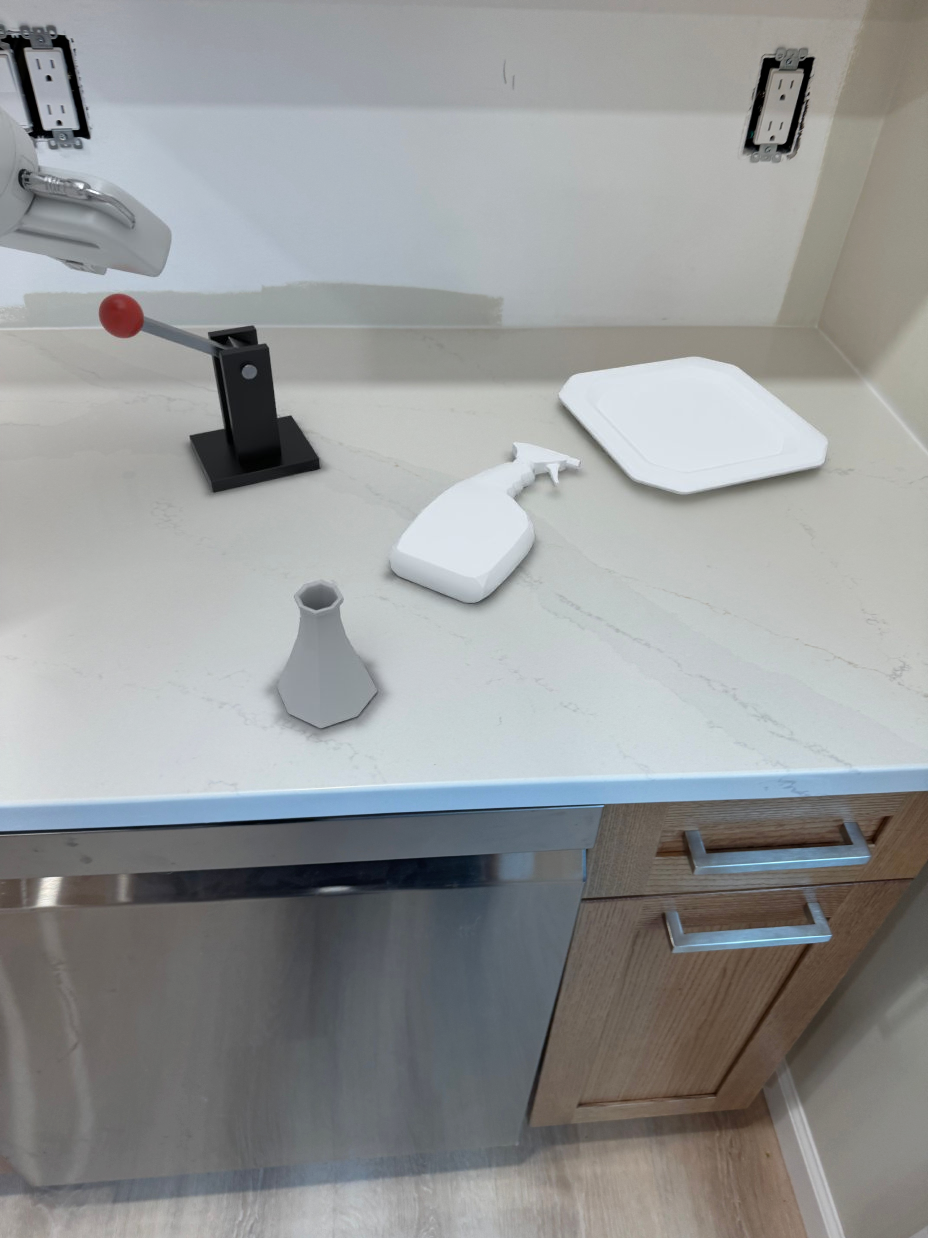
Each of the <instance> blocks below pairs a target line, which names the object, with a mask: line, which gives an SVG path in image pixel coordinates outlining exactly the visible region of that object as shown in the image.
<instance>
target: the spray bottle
mask: <svg viewBox="0 0 928 1238" xmlns="http://www.w3.org/2000/svg"><path fill="white" fill-rule="evenodd" d="M511 454H512V455H513V456H514V457H515V459H514V460H513V461H506V462H504V463H501V464H499V465H496V466H493V467H490V468H488V469H485V470H483V471H481V472H478V473H477V474H474V475H473V476H471V477H469V478H466V479H464V480H460V481H458V482H456V483H454V484H453V485H452V486H450V487H448V489H446V490H444V491H443V492H441V493H440V494H439V495H438V496H436V497H435V498H434V499H433V500H432V501H431V502H430V503H428V504H427V505H426V506H425V507H424V508H423V509H422V510H420V511H419V512H418V514H417V515H416V516H415V518H414V519H412V521H411V522H410V524H409V525H408V526H407V528H406V529H405V530H404V531H403V533H402V534H401V535H400V536H399V538H398V539H397V540H396V541H395V543H394V544H393V545H392V546H391V548H390V551H389V556H388V560H389V565H390V567H391V571H392V572H394V574H396V576H398V577H399V578H402V579H403V580H404V579H405V580H406V581H409V582H412V583H415V584H417V585H420V586H422V587H424V588H427V589H430V590H432V591H434V592H437V593H440V594H442V595H445V596H447V597H449V598H452V599H455V600H457V601H460V602H462V603H464V604H465V603H466V604H475V603H478V602H480V601H482V600H483V599H485V598H487V597H488V596H490V595H491V594H492V593H493V592H494V591H496V589H497V588H498V587H499V586H500V585H501V584H502V583H503V582H504V581H505V580H506V579H507V578H508V577H509V576H510V575H511V574H512V573H513V571H515V569H516V568H517V567H518V566H519V565H520V563H521V562H522V561H523V560H524V559H525V557H526V556H527V555H528V554H529V553H530V550H531V549H532V547H533V545H534V543H535V539H536V533H535V528H534V524H533V522H532V520H531V519H530V516H529V515H528V513H527V512H526V511H525V510H524V509H523V507H521V505H519V504H518V503H517V501H516V500H515V499H516V496H517V495H519V494H520V493H522V492H523V489H524V488H526V487H527V488H528V487H529V486H531V485H532V484H533V483H534V482H535V480H536V475H540V474H544V473H545V474H546V473H549V476H550V478H551V480H552V483H553V485H554V486H555V487H559V484H560V483H559V478H558V477H559V472H563V471H564V470H566V469H567V468H568V469H571V470H574V471H579V469H580V467H581V464H582V460H579V459H577V458H574V457H571V455H569V454H565V453H562V452H558V451H555V450H552V449H549V448H546V447H542V446H539V445H536V444H533V443H526V442H515V441H513V442H512V446H511Z"/></svg>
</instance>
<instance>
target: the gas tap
mask: <svg viewBox="0 0 928 1238" xmlns="http://www.w3.org/2000/svg"><path fill="white" fill-rule="evenodd" d="M228 337H231V338H234V339H236V340H239V341H242V342H245V343H247V344H250V345H252V346H245V347H239V348H233V349H227V350H221V351H219V356H220V358H219V357H216V356H213V355H211V360H212V366H213V372H214V378H215V383H216V384H215V385H216V389H217V395H218V396H217V397H218V402H219V408H220V413H221V418H222V424H223V428H219V429H215V430H210V431H204V432H199V433H194V434H190V435H188V437H189V442H190V446H191V449H192V450H193V453H194V455H195V457H196V459H197V462H198V463H199V466H200V468H201V469H202V471H203V474H204V476H205V479H206V481H207V482H208V485H209V487H210V489H211V491H212V492H213V493H217V492H221V491H226V490H230V489H234V488H239V487H244V486H248V485H253V484H257V483H261V482H266V481H271V480H274V479H279V478H284V477H288V476H292V475H297V474H301V473H305V472H310V471H315V470H319V469H321V462H320V461H321V460H320V457H319V456H318V454H317V452H316V451H315V450H314V448H313V446H312V445H311V443H310V441H309V440H308V439H307V436H306V435H305V434H304V432H303V431H302V429H301V428H300V426H299V424H298V423H297V421H296V420H295V418H294V417H293V415H291V414H290V415H284V416H280V417H278V412H277V403H276V395H275V387H274V377H273V369H272V361H271V353H270V347H269V345H268V344H267V343H265V342H263V343H259V339H258V338H259V337H258V330H257V328H256V327H255V325H254V324H252V325H245V326H239V327H232V328H225V329H220V330H212V331H208V332H207V339H209V340H212V341H215V342H218V343H220V344H223V345H225V344H226V341H227V339H228ZM219 359H220V360H219Z"/></svg>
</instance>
